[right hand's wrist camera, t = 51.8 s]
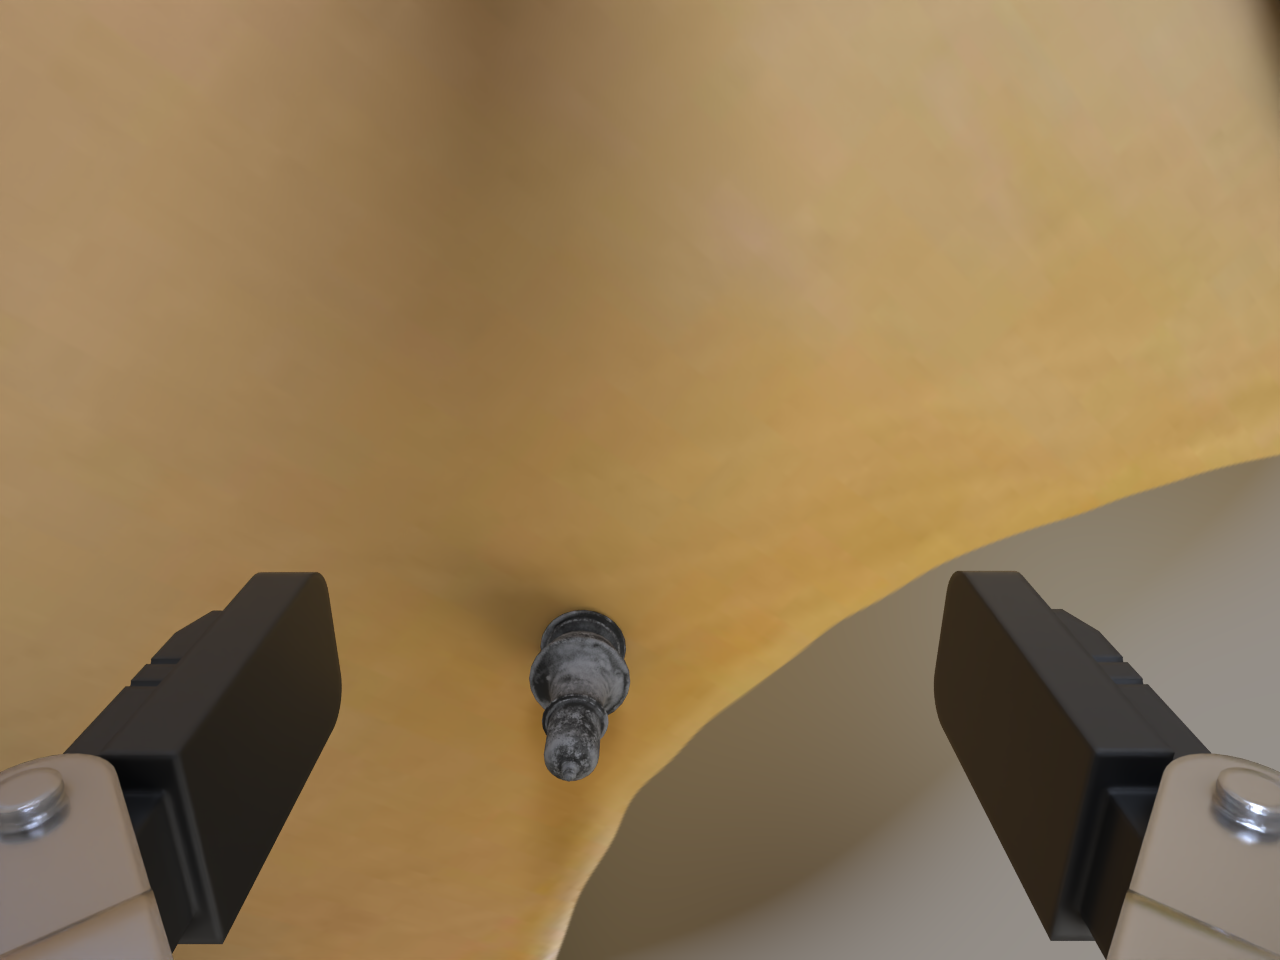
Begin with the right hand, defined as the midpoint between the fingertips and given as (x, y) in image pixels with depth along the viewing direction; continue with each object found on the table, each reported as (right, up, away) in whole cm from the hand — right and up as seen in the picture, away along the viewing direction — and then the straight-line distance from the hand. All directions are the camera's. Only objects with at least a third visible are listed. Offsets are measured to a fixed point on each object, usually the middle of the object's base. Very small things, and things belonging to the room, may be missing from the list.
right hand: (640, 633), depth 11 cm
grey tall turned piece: (-4, -8, +43) cm, 44 cm away
